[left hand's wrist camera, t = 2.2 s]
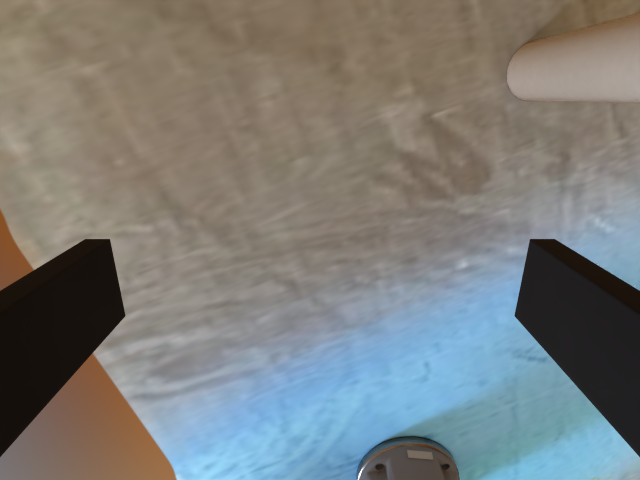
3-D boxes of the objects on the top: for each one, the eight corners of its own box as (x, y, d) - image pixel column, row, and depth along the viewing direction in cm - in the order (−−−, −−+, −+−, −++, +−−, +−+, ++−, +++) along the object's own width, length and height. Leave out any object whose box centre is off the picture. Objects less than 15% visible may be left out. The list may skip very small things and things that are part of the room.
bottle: (554, 103, 41) (857, 112, 18) (500, 98, 41) (735, 101, 18) (571, 42, 39) (937, -37, 16) (514, 37, 39) (801, -51, 16)
